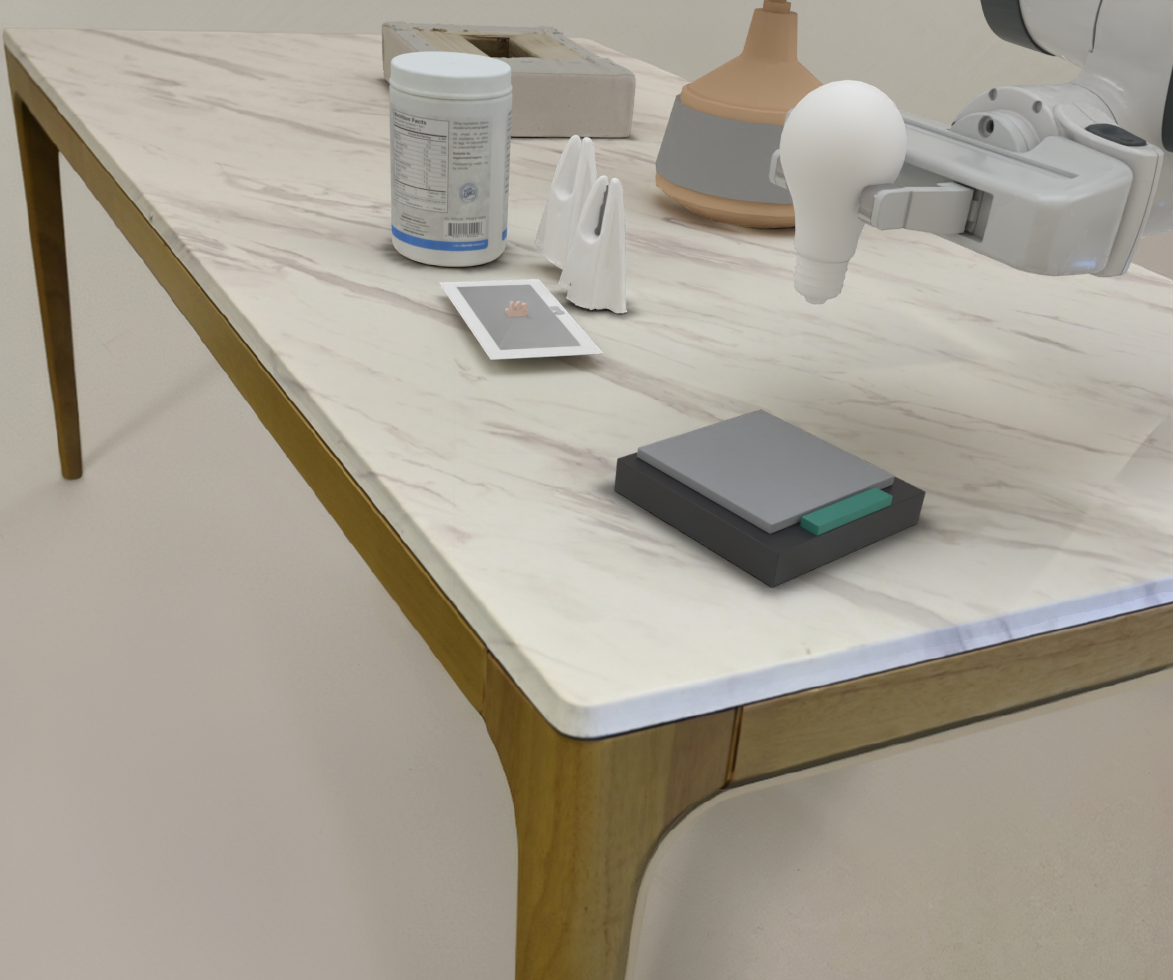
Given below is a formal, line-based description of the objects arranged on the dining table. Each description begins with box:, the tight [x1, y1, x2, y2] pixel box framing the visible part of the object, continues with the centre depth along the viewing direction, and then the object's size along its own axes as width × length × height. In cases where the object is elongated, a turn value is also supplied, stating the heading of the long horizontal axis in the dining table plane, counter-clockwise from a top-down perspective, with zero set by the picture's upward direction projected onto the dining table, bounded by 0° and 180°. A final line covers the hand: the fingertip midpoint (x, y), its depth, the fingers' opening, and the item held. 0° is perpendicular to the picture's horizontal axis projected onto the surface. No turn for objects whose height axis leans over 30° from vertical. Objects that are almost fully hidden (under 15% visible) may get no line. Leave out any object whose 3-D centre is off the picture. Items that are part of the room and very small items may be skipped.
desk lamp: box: [654, 0, 824, 229], centre depth 110 cm, size 22×19×37 cm
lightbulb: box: [780, 79, 907, 305], centre depth 61 cm, size 6×6×11 cm
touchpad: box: [438, 278, 604, 361], centre depth 87 cm, size 8×15×2 cm, turn 19°
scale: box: [613, 408, 927, 588], centre depth 67 cm, size 12×12×3 cm
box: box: [381, 20, 637, 139], centre depth 149 cm, size 23×8×32 cm
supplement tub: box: [388, 51, 512, 268], centre depth 97 cm, size 10×10×15 cm
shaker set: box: [533, 135, 628, 314], centre depth 93 cm, size 12×4×11 cm, turn 19°
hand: (822, 188), depth 61 cm, fingers closed on lightbulb, 6 cm apart
